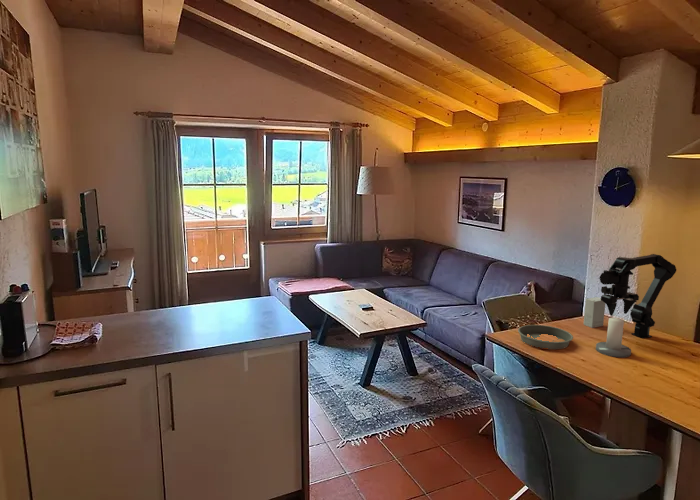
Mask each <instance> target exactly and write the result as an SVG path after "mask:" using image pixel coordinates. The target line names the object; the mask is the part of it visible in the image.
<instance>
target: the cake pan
mask: <svg viewBox="0 0 700 500" xmlns="http://www.w3.org/2000/svg"><path fill="white" fill-rule="evenodd" d="M517 331H518V333H519V335H520V339H521V341H522V342H523V343H524V342H525V343H524V344H526V343H527V344H526V345H528V344H529V345H528V346H531V345H532V346H531V347H534V346H535V347H534V348H538V347H540V348H539V349H543V348H548V349H547V350H562V349H566V348H567V347H568V346H569V345H570V342H572V341H573V339H574V336H573V335H572V334H571V333H570V332H569V331H567V330H565V329H562V328H559V327H555V326H550V325H544V324H527V325H523V326H520V327H518V329H517ZM527 334H529V335H530V337H527ZM541 334H548V335H553V336H556V337H557V338H558V339H557V340H563V341H552V342H549V341H542V340H537V339H535V338H537V337H540V336H539V335H541ZM531 336H532V337H533V338H534V339H533V338H531Z"/></svg>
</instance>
